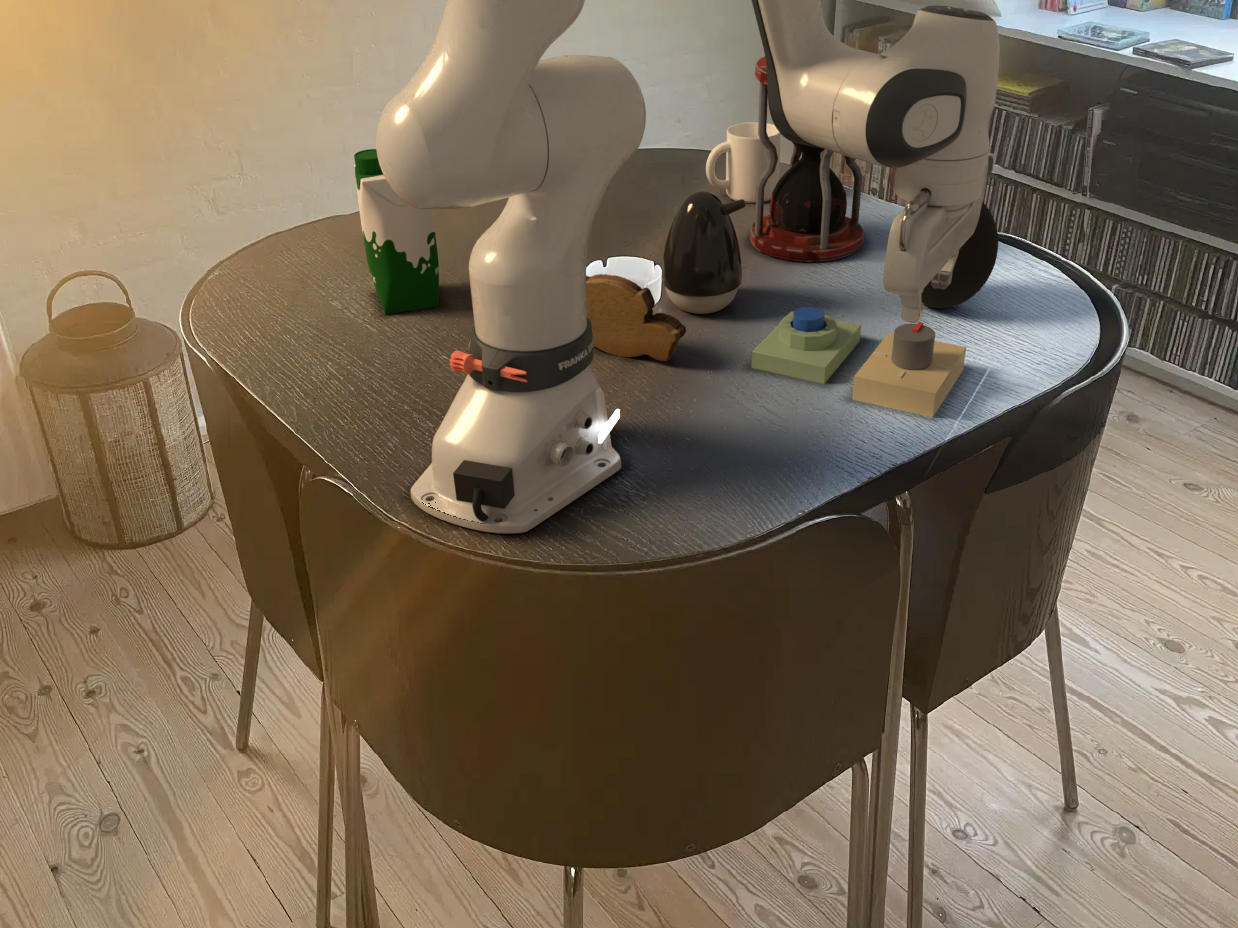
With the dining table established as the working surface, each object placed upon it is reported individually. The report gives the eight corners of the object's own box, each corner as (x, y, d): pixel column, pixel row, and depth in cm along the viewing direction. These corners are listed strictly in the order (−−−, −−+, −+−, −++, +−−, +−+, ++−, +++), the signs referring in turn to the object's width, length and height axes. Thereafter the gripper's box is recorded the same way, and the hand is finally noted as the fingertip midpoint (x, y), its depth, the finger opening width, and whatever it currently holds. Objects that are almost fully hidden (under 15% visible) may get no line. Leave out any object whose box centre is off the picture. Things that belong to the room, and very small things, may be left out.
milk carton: (369, 292, 158) (346, 146, 147) (436, 282, 160) (418, 137, 149) (379, 319, 151) (355, 167, 140) (448, 308, 153) (430, 157, 142)
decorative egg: (926, 277, 157) (939, 167, 149) (1008, 304, 149) (1026, 189, 141) (869, 305, 150) (879, 191, 142) (951, 335, 142) (967, 217, 134)
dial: (925, 373, 128) (929, 342, 126) (885, 365, 130) (889, 334, 128) (936, 356, 131) (940, 325, 129) (898, 348, 133) (901, 318, 131)
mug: (715, 210, 180) (716, 144, 174) (696, 193, 187) (696, 129, 181) (787, 199, 183) (790, 134, 177) (765, 183, 190) (767, 119, 184)
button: (817, 336, 135) (818, 322, 134) (788, 330, 136) (788, 316, 136) (828, 323, 138) (829, 310, 137) (799, 318, 139) (800, 304, 138)
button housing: (824, 384, 133) (826, 352, 131) (751, 368, 137) (752, 337, 134) (860, 341, 141) (862, 311, 139) (790, 327, 145) (791, 297, 143)
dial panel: (932, 417, 126) (936, 392, 124) (852, 399, 130) (854, 374, 128) (963, 370, 134) (966, 345, 133) (886, 354, 138) (889, 330, 137)
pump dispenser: (738, 325, 146) (740, 208, 138) (655, 320, 148) (653, 204, 140) (747, 291, 154) (750, 179, 146) (669, 287, 156) (668, 176, 148)
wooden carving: (692, 356, 139) (693, 278, 134) (677, 373, 136) (676, 294, 131) (570, 333, 146) (566, 257, 140) (553, 348, 142) (547, 272, 137)
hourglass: (736, 226, 174) (740, 53, 161) (840, 216, 176) (852, 44, 163) (769, 268, 161) (776, 82, 147) (880, 256, 163) (898, 72, 150)
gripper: (937, 213, 109) (923, 347, 116) (999, 151, 123) (983, 274, 131) (872, 203, 112) (862, 335, 119) (941, 144, 126) (928, 264, 134)
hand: (926, 302), depth 125 cm, fingers open, 8 cm apart
